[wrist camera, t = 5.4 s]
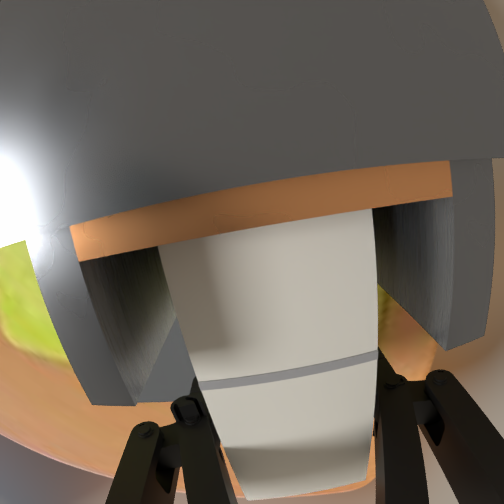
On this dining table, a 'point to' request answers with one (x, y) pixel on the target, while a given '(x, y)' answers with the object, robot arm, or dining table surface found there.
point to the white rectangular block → (284, 347)
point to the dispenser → (243, 152)
